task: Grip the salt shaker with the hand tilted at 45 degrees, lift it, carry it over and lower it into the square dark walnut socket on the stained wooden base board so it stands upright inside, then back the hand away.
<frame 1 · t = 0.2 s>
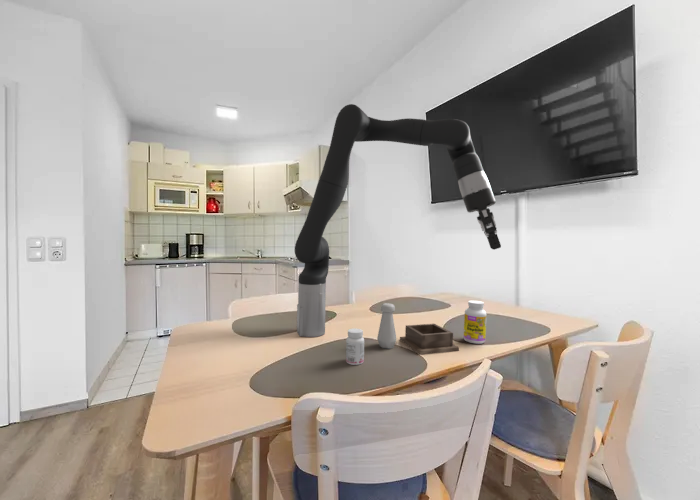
hand: (496, 248, 85), 31 cm above the table, tool tilted 20°, fingers open, 8 cm apart
supplement bottle: (474, 341, 103), on the table
salt shaker: (386, 346, 97), on the table
pill bottle: (354, 362, 84), on the table
socket board: (428, 345, 98), on the table
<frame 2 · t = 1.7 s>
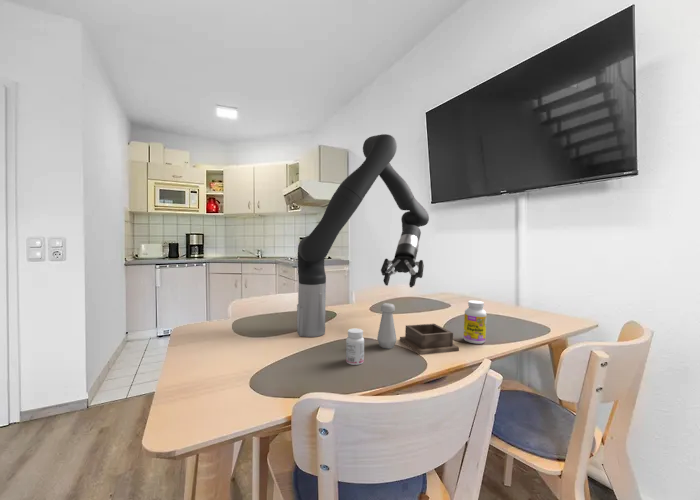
hand: (398, 285, 106), 17 cm above the table, tool tilted 45°, fingers open, 8 cm apart
nothing on the table moved.
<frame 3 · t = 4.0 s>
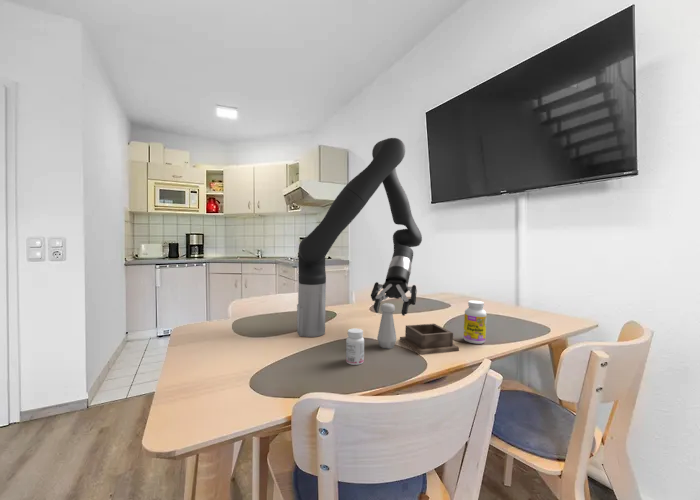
hand: (389, 312, 98), 10 cm above the table, tool tilted 45°, fingers open, 8 cm apart
nothing on the table moved.
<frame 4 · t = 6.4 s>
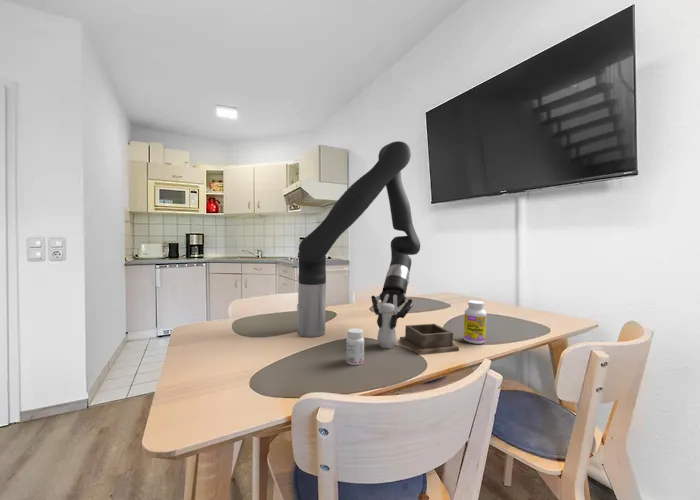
hand: (385, 326, 94), 6 cm above the table, tool tilted 45°, fingers closed on salt shaker, 3 cm apart
salt shaker: (386, 346, 97), on the table, touching gripper
everything else where it was.
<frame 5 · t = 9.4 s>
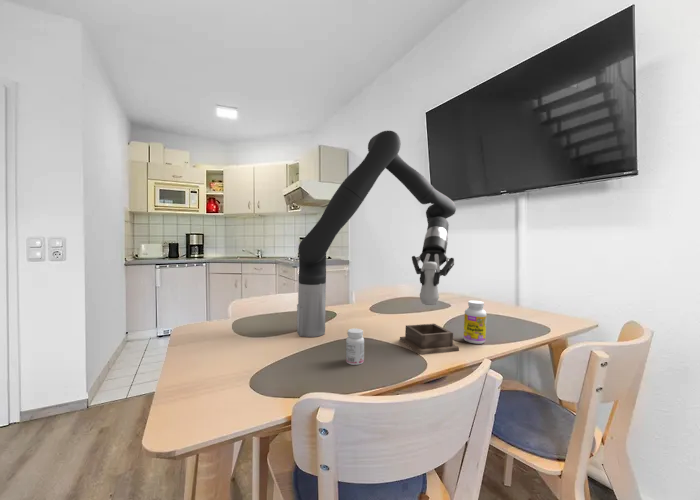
hand: (428, 283, 96), 19 cm above the table, tool tilted 45°, fingers closed on salt shaker, 3 cm apart
salt shaker: (428, 304, 98), point 13 cm above the table, touching gripper
everything else where it was.
when the fingers open (9 cm above the table, at t = 12.4 s): salt shaker drops 1 cm, resting on socket board.
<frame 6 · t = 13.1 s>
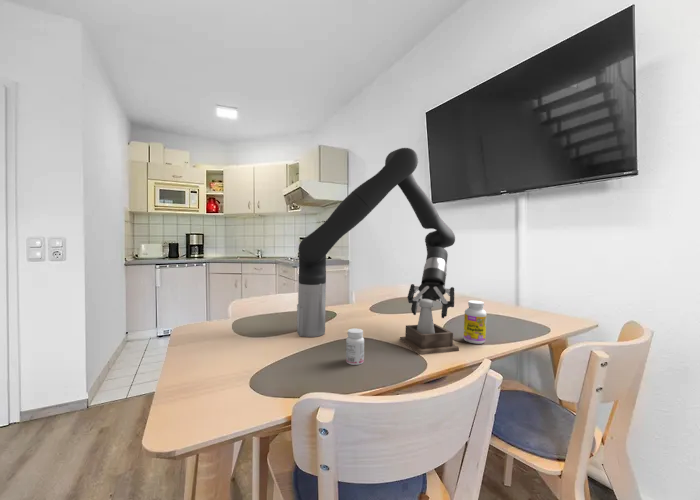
hand: (428, 315, 97), 10 cm above the table, tool tilted 45°, fingers open, 8 cm apart
salt shaker: (425, 341, 100), point 1 cm above the table, touching socket board
everything else where it was.
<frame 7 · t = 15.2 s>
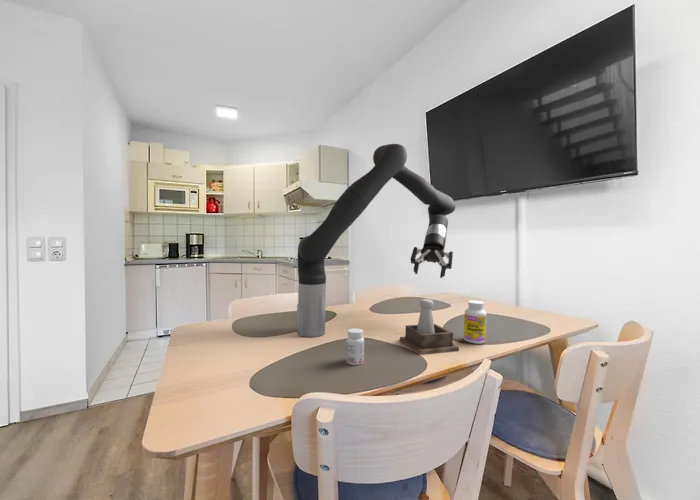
hand: (428, 274, 109), 20 cm above the table, tool tilted 40°, fingers open, 8 cm apart
nothing on the table moved.
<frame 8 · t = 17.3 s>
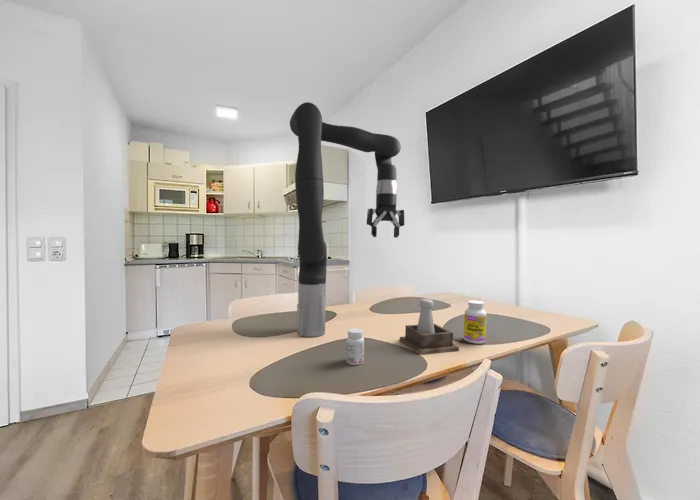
hand: (385, 237, 119), 33 cm above the table, tool pointing down, fingers open, 8 cm apart
nothing on the table moved.
at the end: salt shaker 1.2 cm off-centre on the socket board, point 0.8 cm above the socket board's base; salt shaker tilted 0°; the gripper is holding nothing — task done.
